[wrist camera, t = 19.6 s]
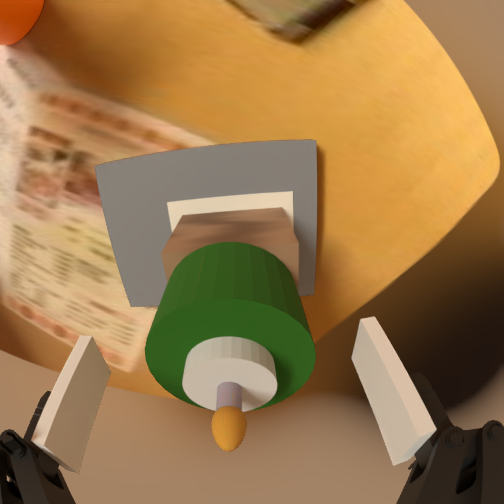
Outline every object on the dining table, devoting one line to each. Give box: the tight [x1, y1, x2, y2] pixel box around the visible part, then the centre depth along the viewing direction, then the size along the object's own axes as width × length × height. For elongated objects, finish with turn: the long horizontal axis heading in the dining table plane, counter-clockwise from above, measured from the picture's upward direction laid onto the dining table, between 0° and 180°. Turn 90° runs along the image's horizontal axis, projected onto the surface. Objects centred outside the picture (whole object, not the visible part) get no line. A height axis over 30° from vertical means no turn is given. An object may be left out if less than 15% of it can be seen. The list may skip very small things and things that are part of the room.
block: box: [161, 207, 299, 290], centre depth 21 cm, size 8×8×7 cm
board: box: [95, 139, 317, 307], centre depth 24 cm, size 18×14×2 cm
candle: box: [145, 242, 316, 451], centre depth 13 cm, size 8×8×10 cm
